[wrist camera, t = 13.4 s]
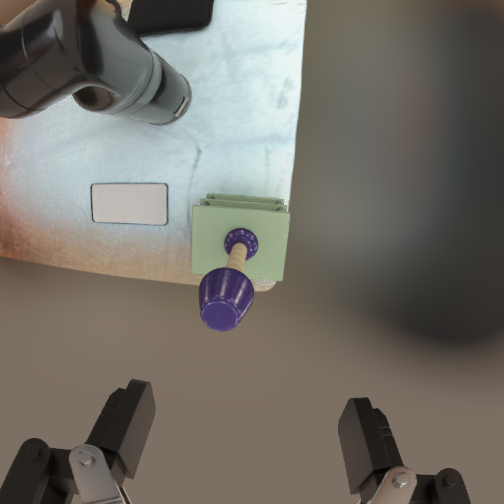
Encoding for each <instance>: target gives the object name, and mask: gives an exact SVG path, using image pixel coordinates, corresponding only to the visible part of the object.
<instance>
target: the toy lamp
mask: <svg viewBox="0 0 504 504" xmlns="http://www.w3.org/2000/svg"><path fill="white" fill-rule="evenodd" d="M224 247H225V251H226V253H227V254H228V255H229V258H228V262H227V264H226V267H222V268H217V269H214V270H212V271H210V272H208V273H207V274H206V275H205V276H204V278H203V279H202V281H201V283H200V286H199V305H200V306H199V307H200V315H201V318H202V320H203V322H204V323H205V324H206V325H207V326H208V327H210V328H211V329H213V330H216V331H228V330H231V329H233V328H234V327H236V326H237V324H238V323H239V322H240V321H241V319H242V318H243V317H244V315H245V314H246V313H247V311H248V309H249V308H250V306H251V305H252V302H253V299H254V288H253V285H252V283H251V281H250V280H249V278H248V277H247V276H246V275H245V274H244V273H242V272H243V269H244V264H245V261H246V260H249V259H251V258H252V257H253V256H254V255H255V254H256V252H257V250H258V240H257V237H256V235H255V234H254V233H253V232H252V231H250V230H248V229H245V228H237V229H234V230H232V231H230V232H229V233H228V235H227V236H226V238H225V241H224Z"/></svg>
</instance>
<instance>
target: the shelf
mask: <svg viewBox="0 0 504 504" xmlns="http://www.w3.org/2000/svg"><path fill="white" fill-rule="evenodd" d="M286 211H287V205H284V199H274V198H263V197H251V196H238V195H224V194H209V193H208V194H207V199H201V200H200V205H193V206H192V246H191V273H194V274H204V275H206V274H207V273H208V272H210V271H212V270H214V269H217V268H222V267H226V264H227V262H228V258H229V255H228V254H227V253H226V251H225V247H224V241H225V238H226V236H227V235H228V233H229V232H230V231H232V230H234V229H237V228H245V229H248V230H250V231H252V232H253V233H254V234H255V235H256V237H257V240H258V250H257V252H256V254H255V255H254V256H253V257H252V258H251V259H249V260H246V261H245V264H244V269H243V272H242V273H244V274H245V275H246V276H247V277H248V278H249V279H261V280H273V281H282V280H283V272H284V264H285V257H286V248H287V240H288V232H289V223H290V212H286Z"/></svg>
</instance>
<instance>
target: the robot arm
mask: <svg viewBox="0 0 504 504" xmlns="http://www.w3.org/2000/svg"><path fill="white" fill-rule="evenodd" d="M107 2H110V3H112V4H113V5H114V6H115V9H116V11H115V10H114V9H113V8H112V7H111V6H110V5H109V4H108V3H107ZM71 94H72V96H73V98H74V100H75V101H76V103H77V104H78V105H79V106H80V107H82V108H83V109H85V110H87V111H90V112H95V113H101V114H107V115H113V116H119V117H124V118H129V119H134V120H139V121H143V122H147V123H150V124H154V125H166V124H170V123H172V122H174V121H176V120H177V119H179V118H180V117H181V116H182V115H183V114H184V113H185V112H186V110H187V108H188V107H189V104H190V101H191V88H190V85H189V83H188V81H187V80H186V78H185V77H184V76H182V75H181V74H180V73H178V72H177V71H176V70H175V69H174V68H173V67H172V66H170V65H169V64H168V63H167V62H166V61H165V60H164V59H162V58H161V57H160V56H159V55H158V54H157V53H155V52H154V51H153V50H152V49H151V48H149V47H148V46H147V45H146V44H145V43H143V42H142V41H141V39H140V38H139V36H138V35H137V33H136V32H135V31H134V29H133V28H132V27H131V26H130V24H129V23H127V22H126V21H125V20H124V19H123V18H122V17H121V9H120V6H119V4H118V2H117V1H116V0H38V1H36V2H35V3H34V4H32V5H31V6H29V7H28V8H27V9H26V10H24V11H23V12H22V13H21V14H19V15H18V16H17V17H16V18H14V19H13V20H12V21H11V22H10V23H9V24H7V25H1V24H0V117H3V118H8V119H23V118H27V117H30V116H33V115H35V114H37V113H40V112H41V111H43V110H45V109H47V108H48V107H50V106H52V105H53V104H55V103H57V102H59V101H60V100H62V99H64V98H66V97H67V96H69V95H71ZM154 416H155V402H154V397H153V392H152V387H151V383H150V382H146V381H142V380H136V379H131V380H130V382H129V384H128V386H127V388H126V389H122V388H118V389H117V390H116V391H115V392H113V393H112V394H111V395H110V396H109V398H108V400H107V402H106V404H105V406H104V408H103V410H102V412H101V414H100V415H99V417H98V419H97V422H96V423H95V425H94V427H93V429H92V432H91V433H90V436H89V437H88V439H87V441H86V442H85V443H84V444H83V445H79V446H77V447H75V448H74V449H73V450H65V449H56V448H49V446H48V445H47V444H46V443H45V442H44V441H43V440H41V439H38V438H31V439H28V440H27V441H25V442H24V443H23V444H22V446H21V447H20V449H19V451H18V454H17V455H16V457H15V459H14V461H13V463H12V465H11V467H10V470H9V472H8V474H7V476H6V478H5V480H4V482H3V485H2V487H1V489H0V504H71V501H72V498H73V496H74V494H78V495H80V496H81V499H82V502H83V504H132V503H131V501H130V499H129V497H128V495H127V493H126V491H125V489H124V487H123V482H124V479H125V477H127V478H131V479H133V478H134V476H135V473H136V470H137V467H138V464H139V461H140V458H141V455H142V452H143V449H144V446H145V443H146V440H147V437H148V434H149V431H150V428H151V425H152V422H153V420H154ZM338 434H339V439H340V443H341V448H342V453H343V457H344V462H345V467H346V472H347V477H348V482H349V488H350V493H351V495H352V494H359V493H360V497H361V500H359V502H358V503H357V504H471V503H470V499H469V496H468V493H467V490H466V487H465V484H464V481H463V479H462V476H461V475H460V473H459V472H458V471H457V470H455V469H451V468H446V469H443V470H441V471H440V472H439V473H438V474H437V475H418V474H415V473H414V471H412V470H411V469H410V468H408V467H405V466H404V465H403V462H402V459H401V457H400V454H399V451H398V448H397V445H396V442H395V440H394V437H393V436H392V432H391V429H390V428H389V423H388V421H387V418H386V416H385V415H384V414H383V413H382V412H381V411H380V410H379V409H378V408H376V409H373V408H372V405H371V402H370V400H369V398H367V397H366V398H365V397H364V398H350V399H349V400H348V402H347V404H346V407H345V409H344V411H343V413H342V415H341V418H340V420H339V423H338Z"/></svg>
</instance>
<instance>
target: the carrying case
mask: <svg viewBox="0 0 504 504" xmlns="http://www.w3.org/2000/svg"><path fill="white" fill-rule="evenodd" d="M213 2H214V0H133V2H132V4H131V9H130V14H129V18H128V23H129V24H130V26H131V27H132V28H133V29H134V31H135V32H136V33H137V35H138V36H144V35H150V34H157V33H165V32H173V31H184V30H196V29H202V28H204V27H206V26H207V25H208V24H209V23H210V22H211V18H212V10H213Z"/></svg>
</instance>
